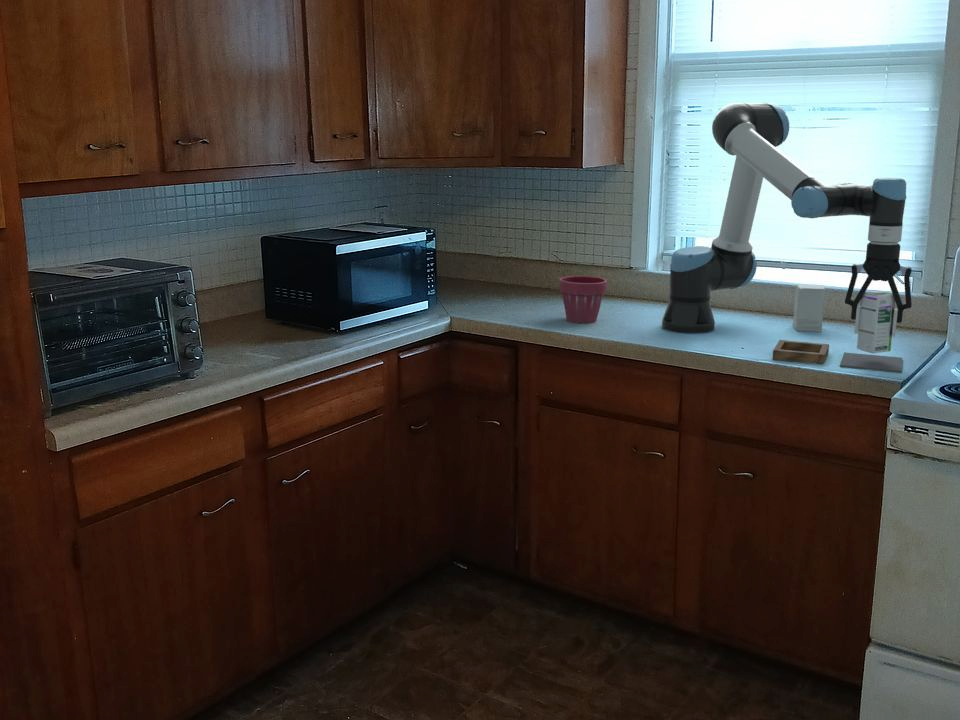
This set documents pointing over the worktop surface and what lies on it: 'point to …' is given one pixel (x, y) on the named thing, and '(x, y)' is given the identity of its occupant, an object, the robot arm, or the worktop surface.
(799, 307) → the supplement box
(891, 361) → the charcoal mat
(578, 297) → the plant pot
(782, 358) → the walnut collar
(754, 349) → the worktop surface
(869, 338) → the syrup box
